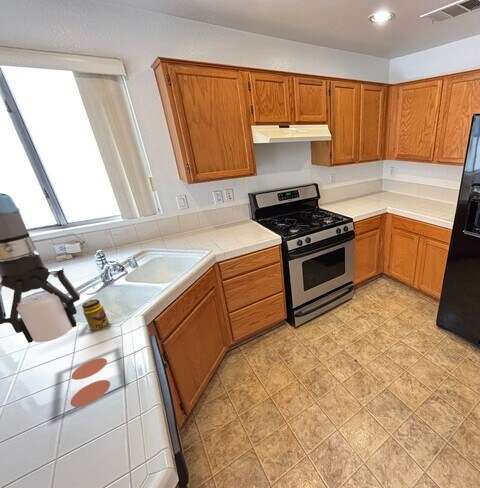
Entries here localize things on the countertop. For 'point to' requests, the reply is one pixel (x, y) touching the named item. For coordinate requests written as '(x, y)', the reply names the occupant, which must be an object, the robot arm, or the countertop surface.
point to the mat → (91, 390)
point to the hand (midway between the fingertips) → (53, 332)
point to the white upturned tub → (44, 316)
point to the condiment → (95, 315)
